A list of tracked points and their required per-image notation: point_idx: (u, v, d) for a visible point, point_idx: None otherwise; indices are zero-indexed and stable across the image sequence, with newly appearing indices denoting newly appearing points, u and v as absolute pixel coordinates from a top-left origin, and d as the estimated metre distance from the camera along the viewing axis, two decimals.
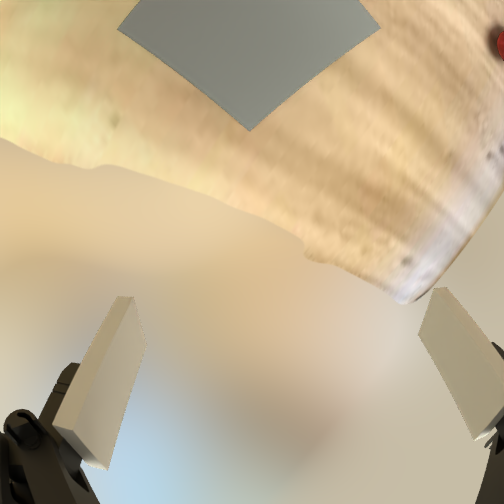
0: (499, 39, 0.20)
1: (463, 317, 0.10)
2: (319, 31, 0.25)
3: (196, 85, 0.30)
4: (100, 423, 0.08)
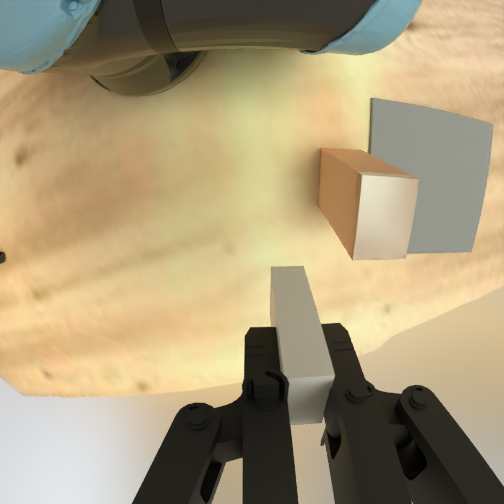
0: None
1: (301, 294, 0.12)
2: (472, 161, 0.33)
3: (431, 252, 0.39)
4: None
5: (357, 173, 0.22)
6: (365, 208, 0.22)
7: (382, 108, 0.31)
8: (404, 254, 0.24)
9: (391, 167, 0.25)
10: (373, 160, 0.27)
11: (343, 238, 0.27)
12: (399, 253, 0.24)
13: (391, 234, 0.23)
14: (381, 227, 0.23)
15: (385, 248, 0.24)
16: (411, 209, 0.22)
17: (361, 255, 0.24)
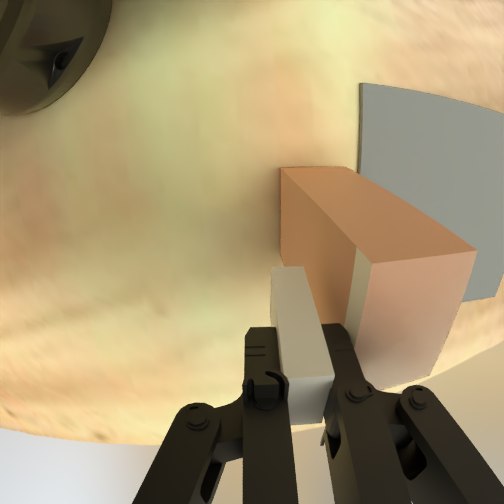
0: None
1: (301, 294, 0.12)
2: None
3: None
4: None
5: (357, 251, 0.10)
6: (372, 325, 0.10)
7: (378, 99, 0.19)
8: (429, 370, 0.12)
9: (413, 213, 0.13)
10: (374, 193, 0.16)
11: None
12: (421, 371, 0.12)
13: (414, 351, 0.11)
14: (399, 346, 0.11)
15: (399, 372, 0.12)
16: (455, 305, 0.11)
17: None
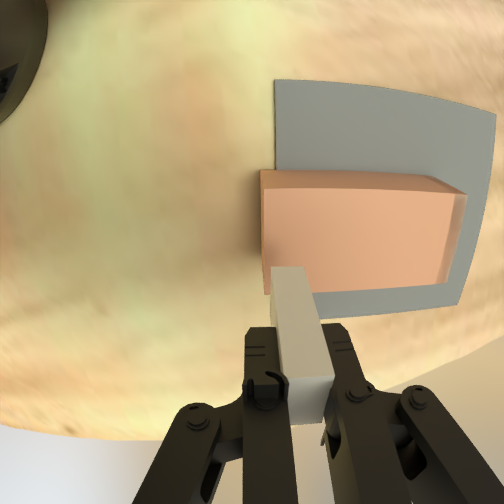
0: None
1: (301, 294, 0.12)
2: (463, 173, 0.21)
3: (394, 311, 0.27)
4: None
5: (456, 195, 0.17)
6: None
7: (293, 95, 0.19)
8: None
9: (394, 174, 0.21)
10: (359, 174, 0.20)
11: (417, 278, 0.20)
12: None
13: None
14: None
15: None
16: None
17: None
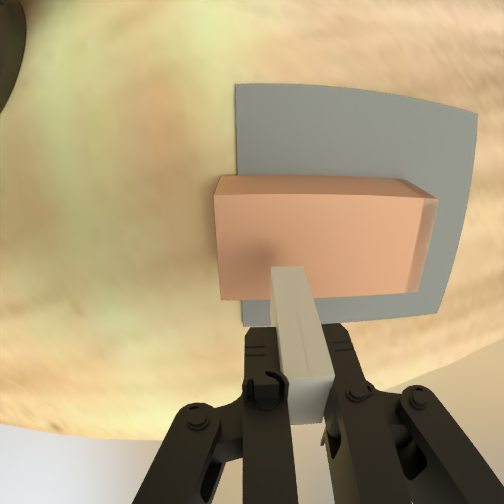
0: None
1: (301, 294, 0.12)
2: (440, 176, 0.21)
3: (367, 319, 0.27)
4: None
5: (425, 200, 0.17)
6: None
7: (254, 99, 0.19)
8: None
9: (362, 178, 0.21)
10: (322, 179, 0.20)
11: (383, 287, 0.20)
12: None
13: None
14: None
15: None
16: None
17: None
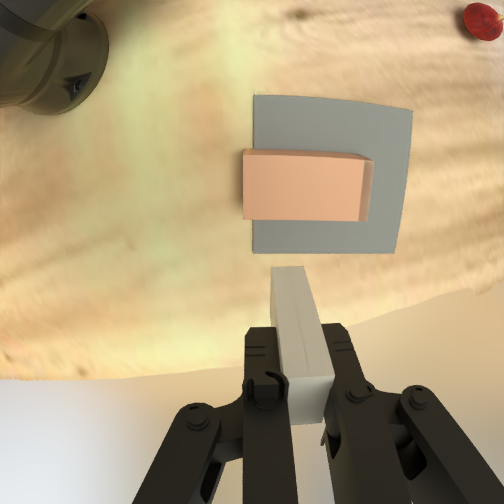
0: (468, 28, 0.24)
1: (301, 294, 0.12)
2: (384, 152, 0.35)
3: (340, 252, 0.41)
4: None
5: (365, 161, 0.30)
6: None
7: (264, 104, 0.32)
8: None
9: (329, 152, 0.34)
10: (304, 151, 0.34)
11: (343, 215, 0.33)
12: None
13: None
14: None
15: None
16: None
17: None
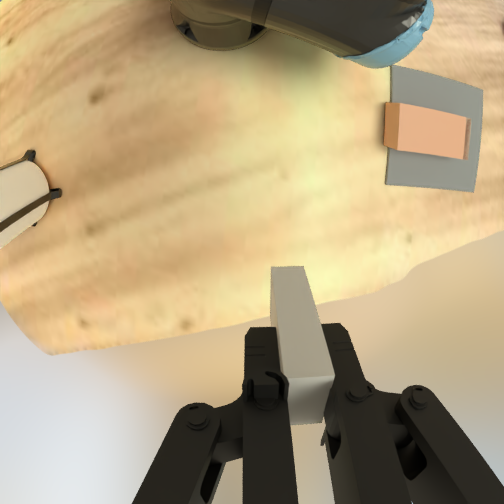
0: None
1: (301, 294, 0.12)
2: (468, 116, 0.40)
3: (442, 188, 0.46)
4: None
5: (466, 118, 0.36)
6: None
7: (399, 72, 0.38)
8: None
9: None
10: None
11: (455, 154, 0.39)
12: None
13: None
14: None
15: None
16: None
17: None
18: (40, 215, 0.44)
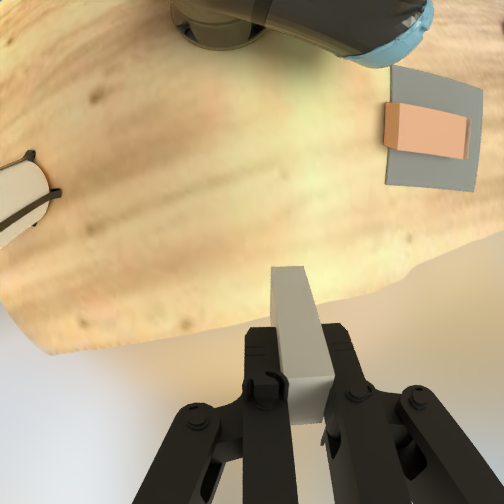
0: None
1: (301, 294, 0.12)
2: (468, 116, 0.40)
3: (442, 188, 0.46)
4: None
5: (466, 118, 0.36)
6: None
7: (399, 72, 0.38)
8: None
9: None
10: None
11: (455, 154, 0.39)
12: None
13: None
14: None
15: None
16: None
17: None
18: (40, 215, 0.44)
